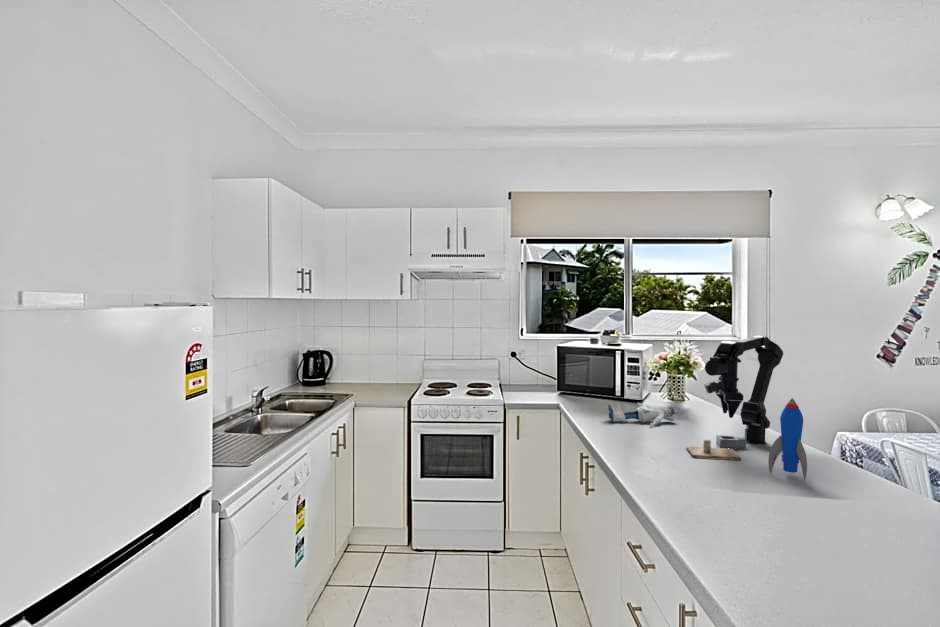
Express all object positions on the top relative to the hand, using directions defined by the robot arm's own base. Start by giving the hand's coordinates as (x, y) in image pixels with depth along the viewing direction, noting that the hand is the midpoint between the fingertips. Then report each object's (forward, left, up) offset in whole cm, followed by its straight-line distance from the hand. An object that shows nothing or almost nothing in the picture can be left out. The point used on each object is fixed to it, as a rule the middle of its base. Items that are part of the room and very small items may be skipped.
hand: (727, 415), depth 222 cm
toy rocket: (-9, +35, -12) cm, 38 cm away
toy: (+27, -39, -12) cm, 49 cm away
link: (-2, 0, -12) cm, 12 cm away
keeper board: (+8, +13, -12) cm, 19 cm away
